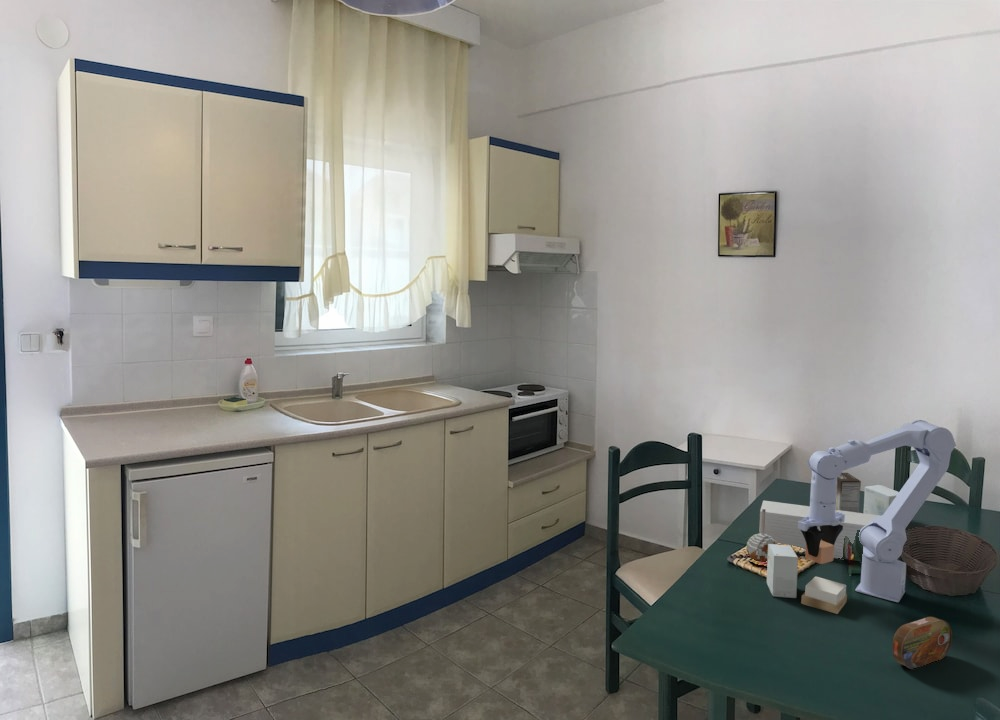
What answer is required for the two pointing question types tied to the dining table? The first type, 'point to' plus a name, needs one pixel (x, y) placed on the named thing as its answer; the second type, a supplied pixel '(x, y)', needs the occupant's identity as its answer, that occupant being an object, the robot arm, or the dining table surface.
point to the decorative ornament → (760, 543)
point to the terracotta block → (822, 553)
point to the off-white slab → (825, 590)
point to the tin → (922, 642)
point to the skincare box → (878, 499)
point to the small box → (782, 570)
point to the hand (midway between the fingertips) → (819, 553)
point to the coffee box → (848, 493)
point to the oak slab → (824, 604)
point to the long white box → (786, 516)
